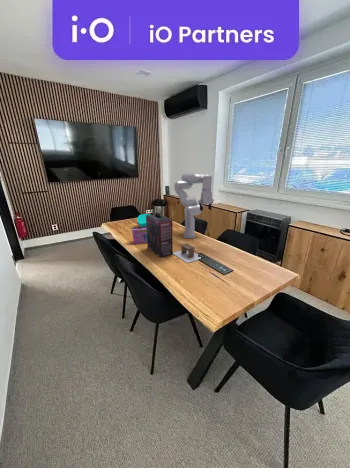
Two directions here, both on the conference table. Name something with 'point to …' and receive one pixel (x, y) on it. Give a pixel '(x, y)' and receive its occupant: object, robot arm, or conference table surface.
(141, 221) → the table top decor
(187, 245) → the walnut stool
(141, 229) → the gum box
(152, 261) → the conference table surface
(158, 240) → the headset box
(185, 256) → the grey pad
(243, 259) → the conference table surface
